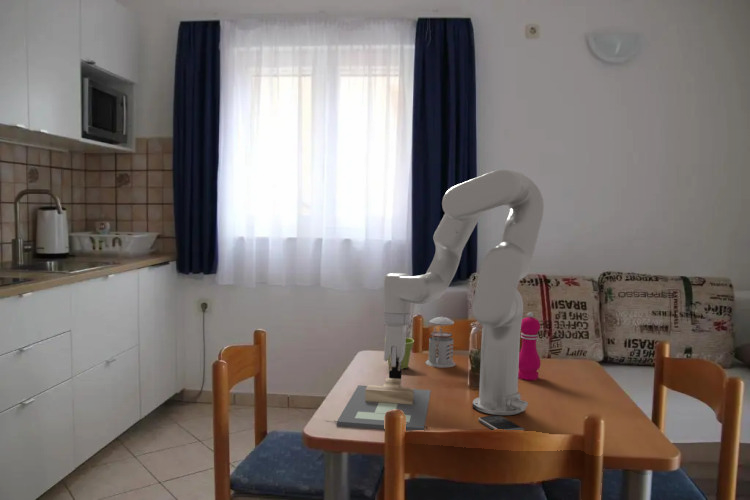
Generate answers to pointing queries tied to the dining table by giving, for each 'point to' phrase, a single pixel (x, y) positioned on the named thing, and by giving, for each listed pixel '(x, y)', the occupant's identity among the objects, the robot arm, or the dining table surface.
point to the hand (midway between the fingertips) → (395, 384)
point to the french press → (440, 344)
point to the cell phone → (499, 423)
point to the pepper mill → (529, 349)
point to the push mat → (383, 411)
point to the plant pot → (407, 353)
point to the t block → (389, 392)
